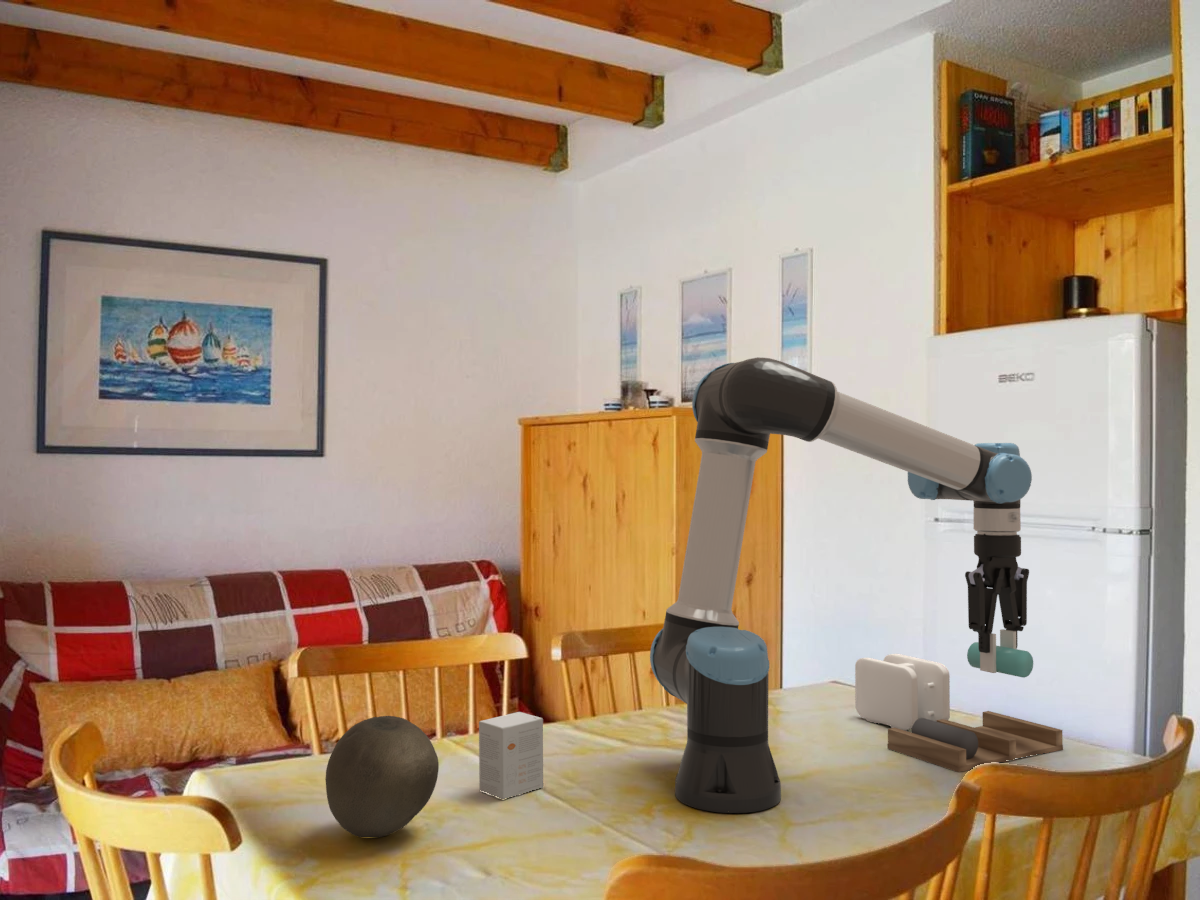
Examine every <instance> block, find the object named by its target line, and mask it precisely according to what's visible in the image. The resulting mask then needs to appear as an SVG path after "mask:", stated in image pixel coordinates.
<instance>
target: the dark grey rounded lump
mask: <svg viewBox="0 0 1200 900" xmlns="http://www.w3.org/2000/svg"><path fill="white" fill-rule="evenodd" d="M327 761H328V762H327V764H326V765H327V766H326V770H325V778H324V779H325V789H326V790H325V791H326V799H327V803H328V807H329V810H330V813H331V814H332V816H333V818H334V819H335V820H336V822H337V823H338V824H339V825H340V827H342V829H344V830H345V831H346V832H348V833H350V834H351V835H353V836H355V837H357V836H358V838H361V837H378V838H383V837H387V836H389V835H391V834H393V833H396V832H398V831H400V830H401V829H403V828H404V827H406V826H407V825H408V824H409V823H410V822H411V821H413V819H414V818H415V817H416V816H417V815H418V814H419V813H420V812H421V811H422V810H423V809H424V807H425V806H426V805H427V804H428V802H429V800H430V799H431V797H432V795H433V793H434V790H435V788H436V786H437V780H438V775H439V769H440V767H439V766H440V764H439V763H440V762H439V757H438V755H437V752H436V750H435V747H434V745H433V743H432V741H431V739H430V738H429V736H428V735H427V734H426V732H424V731H423V730H422V729H421V728H420V727H419V726H417V725H416V724H415V723H412V722H411V721H410V720H408V719H407V718H403V717H399V716H398V717H397V716H395V715H393V716H392V715H382V716H373V717H369V718H367V719H363V720H361V721H360V722H358V723H355V724H354V725H353V726H351V727H350V728H349V729H348V730H346V731H345V733H344V734H342V735H341V737H340V738H339V740H338V741H337V743H336V744H335V746H334V747H333V749H332V752H331V754H330V756H329V759H328V760H327Z"/></svg>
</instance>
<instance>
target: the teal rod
mask: <svg viewBox="0 0 1200 900" xmlns="http://www.w3.org/2000/svg"><path fill="white" fill-rule="evenodd" d="M966 655H967V656H966V658H967V663H968V664H969V665H970V667H972V668H976V669H980V652H979V645H978V641H976V642H973V643H971V644H970V646H969V647H968V649H967V654H966ZM1033 668H1034V657H1033V656H1032V654H1031V653H1030V651H1028V650H1023V649H1018V648H1017V649H1013V648H1007V647H1001V646H1000V645H996V673H999V674H1004V675H1008V676H1013V677H1019V678H1023V679H1025V678H1027V677H1028V676H1029V675H1031V673H1032V671H1033Z"/></svg>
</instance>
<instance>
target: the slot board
mask: <svg viewBox="0 0 1200 900" xmlns="http://www.w3.org/2000/svg"><path fill="white" fill-rule="evenodd" d="M937 722H939V723H943V724H946V725H950V726H953V727H957V728H960V729H964V730H967V731H971V732H973V733H975V734H976V736H977V738H978V749H977V752H976V754H975V755H974V757H972V758H971V759H966V749H963V748H960V747H957V746H953V745H950V744H947V743H944V742H940V741H937V740H934V739H930V738H927V737H924V736H921V735H917V734H914V733H911V731H908V730H907V731H904V730H901V729H898V728H891V727H890V728H887V745H886V746H887V749H888V750H890V749H891V751H893V750H895V751H894V752H896V751H897V753H899V752H900V754H902V753H903V754H902V755H905V754H906V756H908V755H909V757H911V756H912V758H914V757H915V759H918V760H920V759H921V761H924V762H927V763H929V764H932V765H936V766H939V767H942V768H945V769H948V770H951V771H954V772H956V773H961V772H962V773H963V772H966V771H970V769H971V768H973V767H975V766H977V765H980V764H984V763H991V762H1004V763H1007V762H1009V761H1006V760H1013V759H1015V758H1021V757H1026V756H1030V755H1036V754H1041V755H1044V754H1043V753H1045V754H1049V752H1050V753H1053V752H1058V751H1063V750H1064V744H1063V741H1064V740H1063V729H1061V728H1056V727H1052V726H1048V725H1045V724H1041V723H1036V722H1033V721H1030V720H1025V719H1021V718H1017V717H1014V716H1009V715H1006V714H1002V713H998V712H994V711H990V710H987V711H982V725H981V726H976V727H972V726H970V725H966V724H962V723H958V722H955V721H952V720H945V719H940V720H937ZM1036 756H1037V755H1036ZM1013 761H1014V760H1013ZM971 770H972V769H971Z"/></svg>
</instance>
